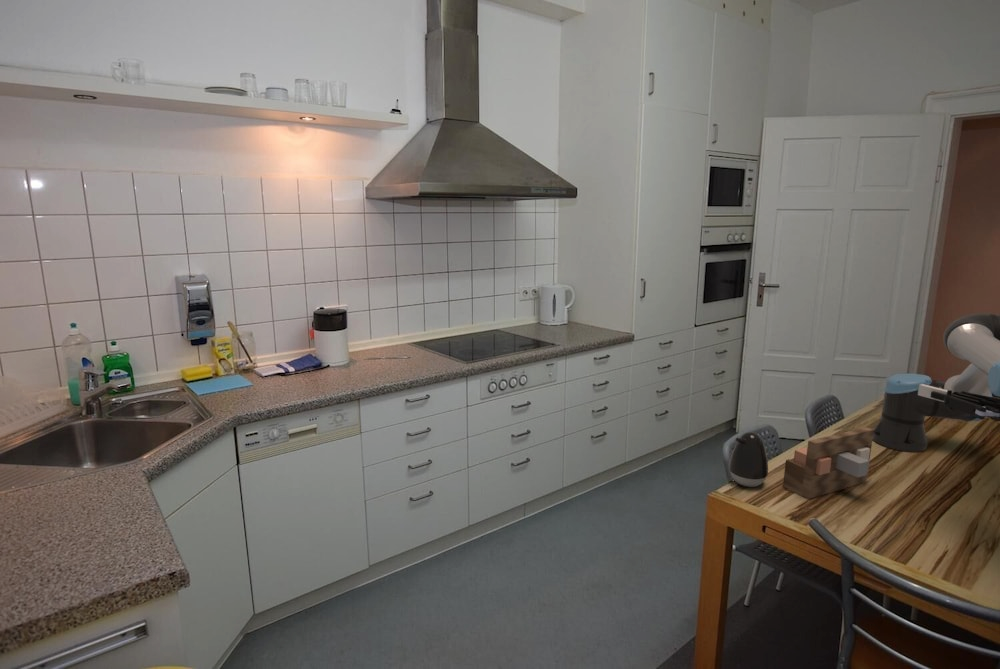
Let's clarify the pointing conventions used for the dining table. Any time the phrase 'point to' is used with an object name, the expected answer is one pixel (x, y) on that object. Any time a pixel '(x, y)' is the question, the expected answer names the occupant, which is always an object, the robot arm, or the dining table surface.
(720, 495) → the dining table surface
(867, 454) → the key ivory
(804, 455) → the key terracotta
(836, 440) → the key board
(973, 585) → the dining table surface
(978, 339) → the robot arm
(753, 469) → the black penguin figurine
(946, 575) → the dining table surface
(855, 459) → the key slate
